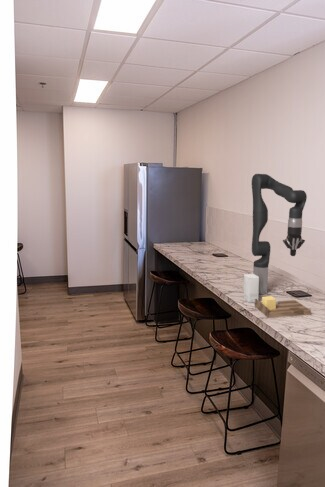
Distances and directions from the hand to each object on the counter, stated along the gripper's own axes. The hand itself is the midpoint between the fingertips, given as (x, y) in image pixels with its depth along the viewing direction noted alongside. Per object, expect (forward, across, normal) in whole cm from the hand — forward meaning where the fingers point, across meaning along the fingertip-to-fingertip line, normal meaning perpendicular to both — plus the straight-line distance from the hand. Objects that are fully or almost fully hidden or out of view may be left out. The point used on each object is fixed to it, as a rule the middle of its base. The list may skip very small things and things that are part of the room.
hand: (292, 255), depth 215 cm
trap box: (+29, +9, +9) cm, 32 cm away
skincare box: (+29, +20, -10) cm, 37 cm away
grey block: (+29, +12, +3) cm, 32 cm away
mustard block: (+26, +18, +10) cm, 33 cm away
